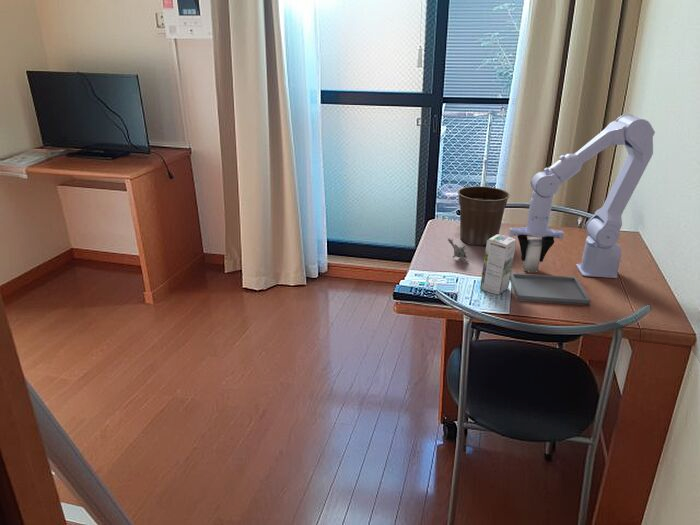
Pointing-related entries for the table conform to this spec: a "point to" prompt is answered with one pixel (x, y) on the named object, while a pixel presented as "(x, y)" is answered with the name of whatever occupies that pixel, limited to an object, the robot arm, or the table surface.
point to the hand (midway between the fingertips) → (531, 260)
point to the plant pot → (481, 213)
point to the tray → (548, 289)
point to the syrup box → (497, 264)
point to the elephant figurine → (459, 251)
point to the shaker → (532, 254)
